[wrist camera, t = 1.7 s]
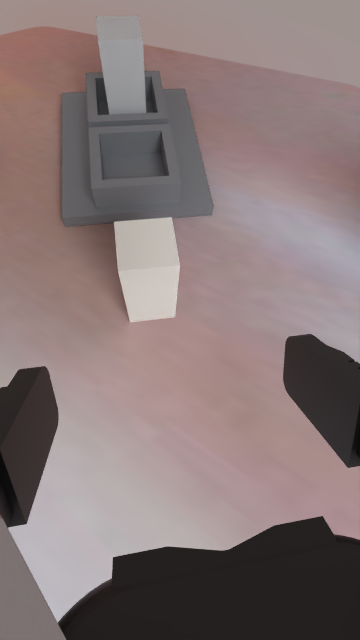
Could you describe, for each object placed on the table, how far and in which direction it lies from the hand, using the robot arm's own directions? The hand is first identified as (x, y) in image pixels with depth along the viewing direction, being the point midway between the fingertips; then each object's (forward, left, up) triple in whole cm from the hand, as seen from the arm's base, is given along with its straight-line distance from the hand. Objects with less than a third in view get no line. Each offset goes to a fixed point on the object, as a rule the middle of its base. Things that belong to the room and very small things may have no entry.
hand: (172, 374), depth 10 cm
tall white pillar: (0, -13, -20) cm, 24 cm away
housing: (0, -35, -20) cm, 41 cm away
